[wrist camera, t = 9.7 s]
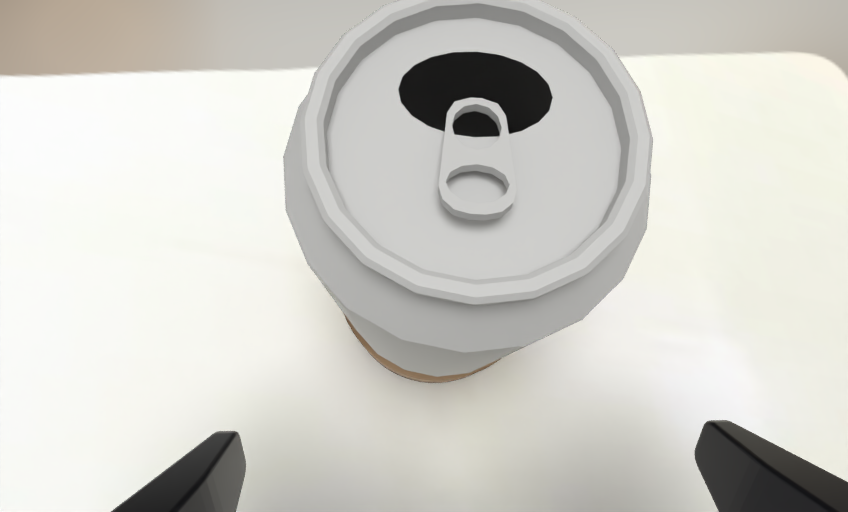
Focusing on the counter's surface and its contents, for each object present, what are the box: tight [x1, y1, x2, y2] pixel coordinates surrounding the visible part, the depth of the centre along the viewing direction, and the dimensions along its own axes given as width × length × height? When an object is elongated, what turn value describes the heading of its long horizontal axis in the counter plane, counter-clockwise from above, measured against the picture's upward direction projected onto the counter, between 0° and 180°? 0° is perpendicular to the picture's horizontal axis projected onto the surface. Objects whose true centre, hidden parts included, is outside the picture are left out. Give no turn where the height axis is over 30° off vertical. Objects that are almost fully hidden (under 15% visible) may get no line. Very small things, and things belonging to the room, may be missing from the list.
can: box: [283, 0, 653, 377], centre depth 15 cm, size 8×8×12 cm
